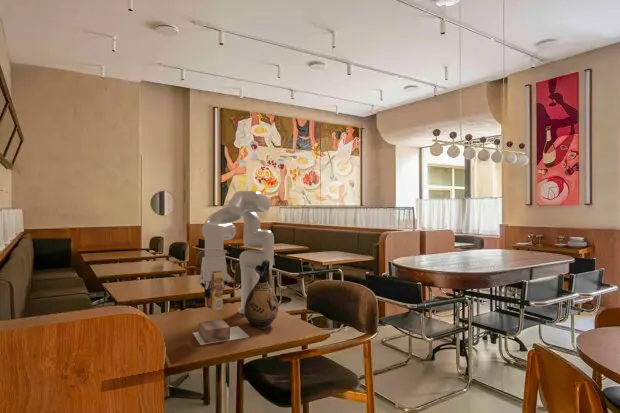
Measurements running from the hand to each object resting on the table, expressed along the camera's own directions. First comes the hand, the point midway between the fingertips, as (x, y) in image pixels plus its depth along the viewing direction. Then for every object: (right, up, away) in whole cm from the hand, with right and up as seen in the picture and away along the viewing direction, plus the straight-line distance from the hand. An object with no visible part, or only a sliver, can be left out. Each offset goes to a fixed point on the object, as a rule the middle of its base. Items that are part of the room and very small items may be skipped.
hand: (214, 297), depth 164 cm
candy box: (0, -5, 0) cm, 5 cm away
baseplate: (+2, -17, +2) cm, 18 cm away
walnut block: (0, -16, 0) cm, 16 cm away
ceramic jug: (+18, -18, +18) cm, 31 cm away
